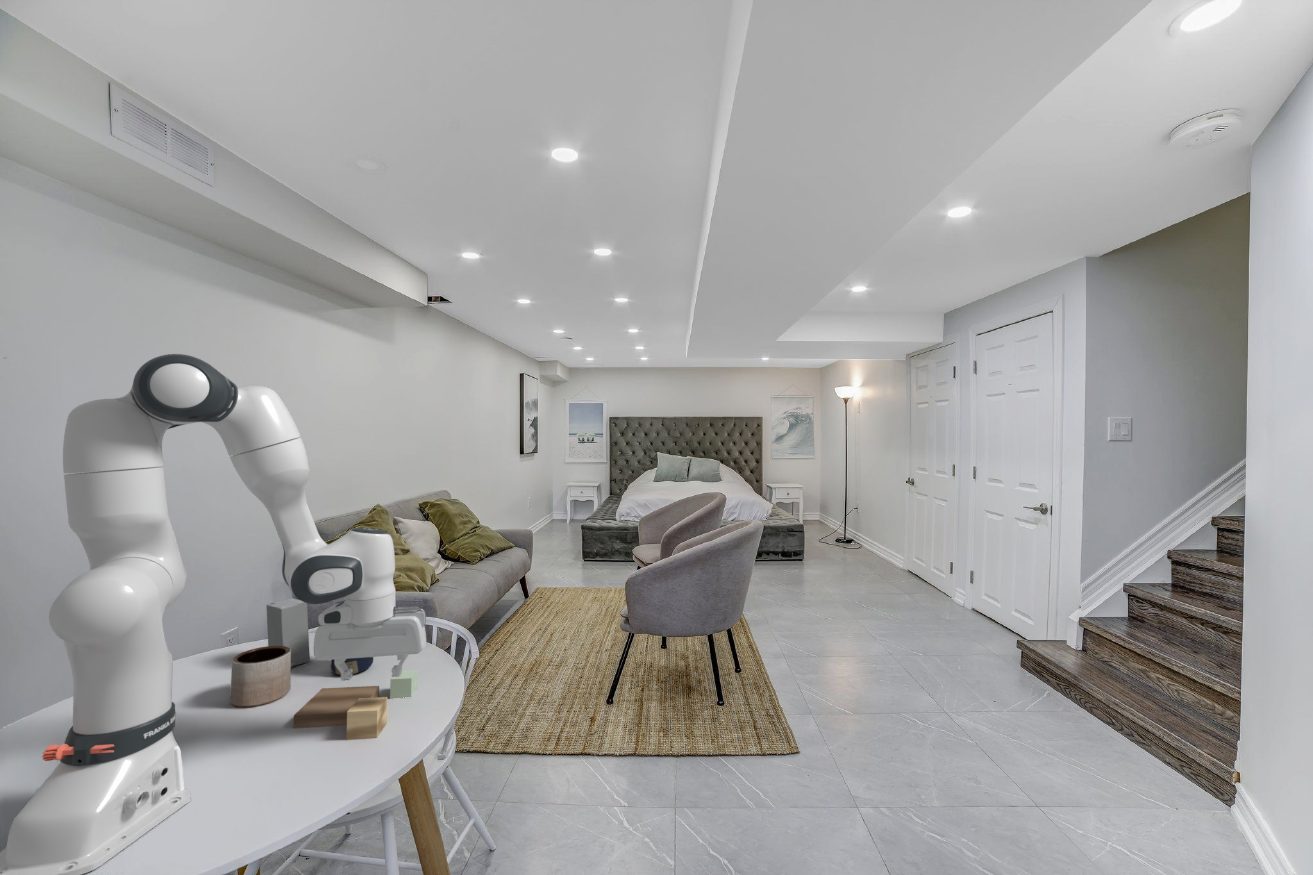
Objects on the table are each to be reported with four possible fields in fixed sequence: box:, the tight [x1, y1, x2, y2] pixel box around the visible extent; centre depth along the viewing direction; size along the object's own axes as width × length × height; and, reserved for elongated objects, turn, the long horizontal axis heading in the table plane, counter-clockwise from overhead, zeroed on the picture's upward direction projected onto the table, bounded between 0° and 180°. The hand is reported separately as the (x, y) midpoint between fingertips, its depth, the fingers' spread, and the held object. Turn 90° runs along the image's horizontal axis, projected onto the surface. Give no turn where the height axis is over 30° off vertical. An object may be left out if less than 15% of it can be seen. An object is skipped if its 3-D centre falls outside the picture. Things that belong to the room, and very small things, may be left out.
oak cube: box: [346, 696, 388, 741], centre depth 107 cm, size 6×6×6 cm
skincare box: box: [265, 597, 311, 668], centre depth 139 cm, size 8×7×16 cm
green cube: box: [389, 669, 418, 700], centre depth 123 cm, size 4×4×4 cm
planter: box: [229, 645, 292, 708], centre depth 121 cm, size 11×11×10 cm
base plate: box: [293, 685, 380, 729], centre depth 115 cm, size 12×12×2 cm
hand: (372, 677), depth 107 cm, fingers open, 8 cm apart
